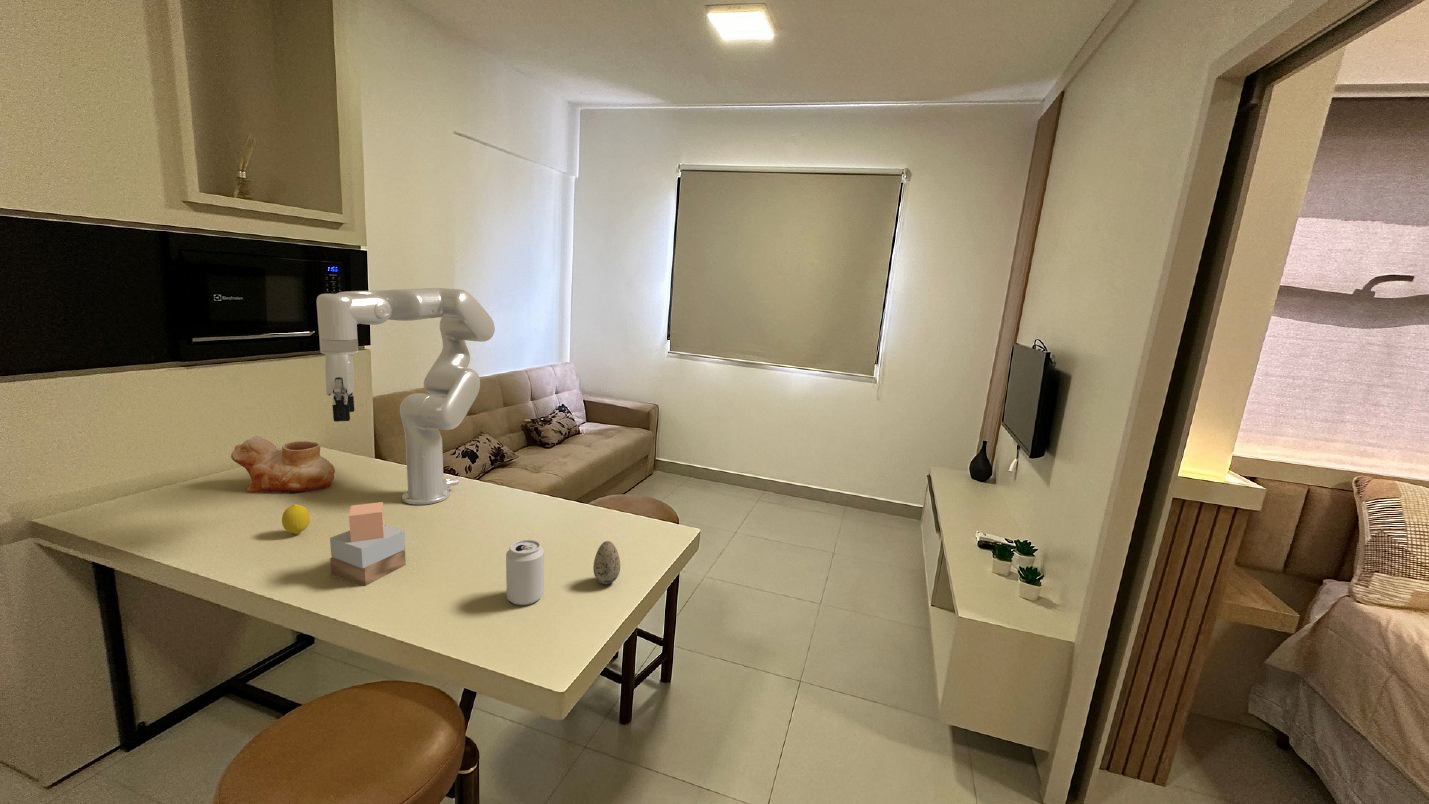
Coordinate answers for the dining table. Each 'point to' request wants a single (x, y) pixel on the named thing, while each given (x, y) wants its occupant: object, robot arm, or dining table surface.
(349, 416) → the robot arm
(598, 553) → the decorative egg
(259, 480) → the ceramic vessel
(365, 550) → the tower top
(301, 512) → the lemon
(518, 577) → the can
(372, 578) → the tower base
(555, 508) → the dining table surface
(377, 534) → the block
